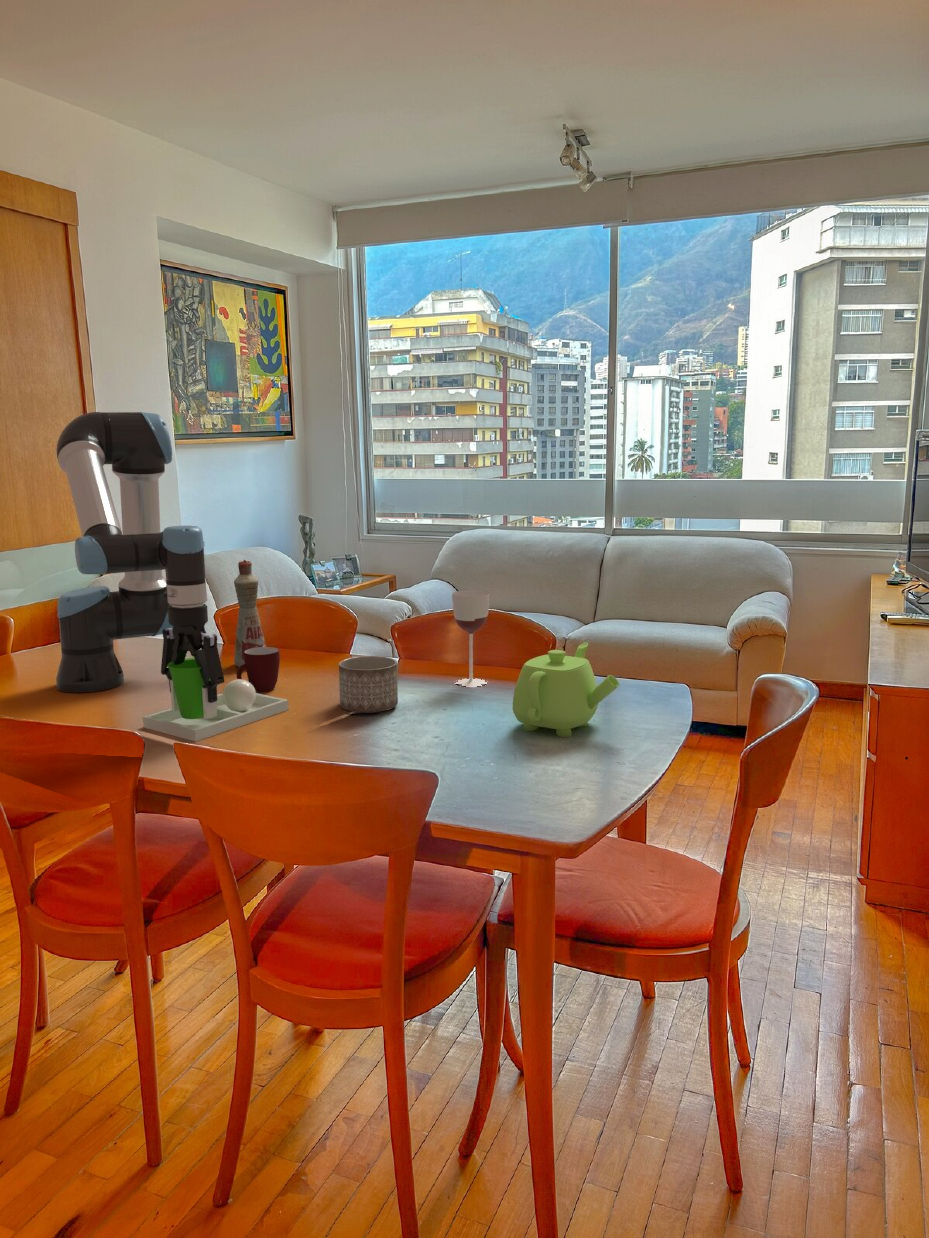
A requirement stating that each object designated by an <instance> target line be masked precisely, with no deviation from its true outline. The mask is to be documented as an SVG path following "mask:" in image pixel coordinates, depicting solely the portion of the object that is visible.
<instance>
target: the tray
mask: <svg viewBox="0 0 929 1238" xmlns="http://www.w3.org/2000/svg"><path fill="white" fill-rule="evenodd" d="M222 694H223V692H222V693H217V701H216V706H217V716H215V717H212V718H209V719H204V717H202V718H198V719H184V718H182V716H181V714H180V710H177V711H172V707H171V708H168V709H164V710H161V711H157V712H155V713H151V714H148V715H144V716H142V724H143V725H142V727H143V728H144V729H148V730H151V731H156V732H159V733H163V734H166V735H170V736H174V737H177V738H181V739H185V740H188V741H193V742H196V743H197V742H199V741H202V740H205V739H208V738H210V737H213V736H216V735H219V734H222V733H225V732H229V731H231V730H235V729H238V728H240V727H243V726H246V725H248V724H251V723H254V722H257V721H260V720H261V721H262V720H264V719H266V718H269V717H273V716H276V715H278V714H281V713H284V712H287V711H289V710H290V709H289V708H290V707H289V699H285V698H281V697H276V696H271V695H267V694H263V693H259V692H256V699H255V702H254V704H253V705H252V706H251V707H250V708H249V709H248V710H246V711H243V712H236V711H232V710H230V709H229V708H228V707H226V705H225V704H224V702H223V698H222Z"/></svg>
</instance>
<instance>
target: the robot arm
mask: <svg viewBox="0 0 929 1238" xmlns="http://www.w3.org/2000/svg"><path fill="white" fill-rule="evenodd" d="M171 440H172V439H171V435H170V432H169V429H168V427H167V423H166V422H165V420H164V418H163V417H162V416H161V415H160V414H157V413H153V412H143V411H131V412H130V411H129V412H128V411H127V412H126V411H124V412H123V411H122V412H120V411H117V412H116V411H112V412H111V411H110V412H109V411H107V412H103V411H102V412H101V411H91V412H86V413H83V414H81V415H78V416H77V417H76V418H74V419H73V420H71V421H70V422H69V423H68V424H67V425H66V426H65V427H64V429H63V430H62V432H61V433H60V435H59V437H58V440H57V443H56V450H55V451H56V457H57V463H58V466H59V468H60V469H61V470H62V471H63V473H65V474H66V477H67V481H68V487H69V489H70V495H71V498H72V502H73V504H74V509H75V513H76V517H77V521H78V525H79V529H80V533H81V536H80V537H77V538H76V539H75V542H74V555H75V560H76V561H75V562H76V567H77V570H78V571H79V573H80V574H82V575H107V574H120V573H124V576H123V578H122V579H121V580H120V581H119V582H118V590H117V591H110V588H109V587H108V586H106V585H97V586H89V587H83V588H78V589H73V590H71V591H68V592H65V593H63V594H62V595H60V596H59V598H58V599H57V615H56V617H57V619H58V626H59V639H60V648H61V658H60V662H59V666H58V671H57V675H56V677H55V684H56V685H55V686H56V689H57V690H59V691H60V692H65V693H76V694H77V693H91V692H99V691H106V690H109V689H113V688H117V687H119V686H121V685H123V684H124V683H125V675H124V671H123V668H122V666H121V664H120V662H119V659H118V658H117V655H116V653H115V648H114V641H116V640H123V639H134V638H143V637H157V636H159V635H162V638H163V643H162V654H161V665H160V666H161V667H160V674H161V675H163V676H164V675H165V676H166V678H167V679H168V684H169V685H168V686H169V692H170V700H171V708H172V711H177V710H179V706H178V702H177V698H176V693H175V689H174V685H173V681H172V677H171V672H170V668H168V667H167V666H168V664H169V663H170V662H172V661H173V662H174V665H179V664H182V663H183V662H184V661H185V659H186V656H187V653H188V652H190V656H191V657H192V658H195V661H196V663H197V666H198V667H201V669H200V674H201V676H202V679H203V681H204V684H205V685H204V686H202V695H203V711H204V719H209V718H212V717H215V716H217V706H216V701H217V695H218V685H221V684H224V683H225V676H224V673H223V667H222V663H221V657H220V653H219V648H218V636H217V634H208V633H207V631H206V629H205V625H206V624H207V623H208V621H209V614H208V605H207V604H205V603H207V602H208V596H207V594H208V593H207V582H206V567H205V565H206V564H205V548H204V547H205V541H204V536H203V530H202V528H201V527H200V526H196V525H171V526H168V527H165V528H164V529H163V530H162V531H161V516H160V511H161V509H160V486H159V479H160V478H161V477H162V476H163V474H165V473H166V470H165V469H166V467H165V465H169V464H171V463H172V462H173V446H172V441H171ZM104 465H111V472H112V473H113V474H114V475H115V476H117V478H119V488H120V491H119V492H120V507H121V508H120V509H121V524H120V521H119V518H118V514H117V510H116V507H115V503H114V500H113V497H112V494H111V490H110V486H109V483H108V480H107V476H106V473H105V469H104ZM164 570H165V571H164ZM163 571H164V572H165V576H163ZM209 679H210V681H209Z"/></svg>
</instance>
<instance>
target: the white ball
mask: <svg viewBox="0 0 929 1238" xmlns="http://www.w3.org/2000/svg"><path fill="white" fill-rule="evenodd" d="M222 693H223V694H222ZM222 693H221V694H222V698H223V702H224V704H225V705H226V707H228V708H229V709H230V710H232V711H236V712H243V711H246V710H248V709H249V708H250V707H251V706H252V705H253V704H254V702H255V699H256V693H257V692H256V691H255V688H254V687H253V685H252V684H251V683H250V682H249V681H248V680H246V679H243V678H242V679H237V678H236V679H233V680H231V681H229V682H228V683H227V684H226V685H225V686H224V688H223V690H222Z"/></svg>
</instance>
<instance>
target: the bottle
mask: <svg viewBox="0 0 929 1238" xmlns="http://www.w3.org/2000/svg"><path fill="white" fill-rule="evenodd" d="M252 564H253V563H252V561H250V560H246V559H243V561H241V560H240V561H238V563H237V565H238V573H239V574H238V575H237V577H236V578H235V579H234V582H233V585H234V587H235V593H236V597H237V603H238V607H239V608H238V616H237V617H238V618H237V625H236V630H235V632H236V633H235V634H236V637H235V647H234V656H233V657H234V660H233V661H234V662H233V663H234V665H235V666H236V667H238V668H239V667H240V666H241V665H243V664H245V663H244V651H245V650H247V649H251V648H258V647H267V645H266V641H265V636H264V632H263V628H262V624H261V620H260V616H259V612H258V607H257V604H258V603H257V602H258V601H257V599H258V591H259V579H258V578H257V577H255V576H254V573H253V569H252V568H253V567H252V566H253V565H252ZM238 668H237V669H238Z"/></svg>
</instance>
